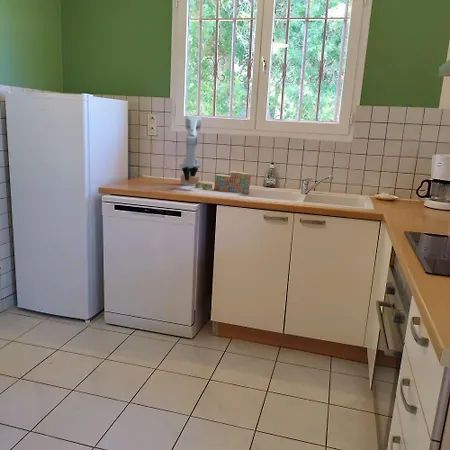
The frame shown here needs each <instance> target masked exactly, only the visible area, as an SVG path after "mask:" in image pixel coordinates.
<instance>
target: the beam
mask: <svg viewBox="0 0 450 450" xmlns="http://www.w3.org/2000/svg"><path fill="white" fill-rule="evenodd" d="M181 182H185V183H190V184H198V182H199V177H198V176H196V177H194V176H189V180H185V176H184V175H180V183H181Z"/></svg>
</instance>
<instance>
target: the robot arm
mask: <svg viewBox="0 0 450 450" xmlns="http://www.w3.org/2000/svg"><path fill="white" fill-rule="evenodd" d="M201 127H202V116H194V115H186V116H185V130H187V136H186V138H185V139H186V140H185V149H186V150H185V158H183V162H182V163H181V164H179V168H180V169H181V171H182V173H181V175H184V176H185V180H189V176H194V177H197V173H198V172H199V169H201V164H199V159H198V158H197V157H196V154H197V147H198V132H199V131H201ZM181 175H180V176H181ZM180 184H181V185H184V186H189V187H195V184H190V183H185V182H181V181H180Z"/></svg>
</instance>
